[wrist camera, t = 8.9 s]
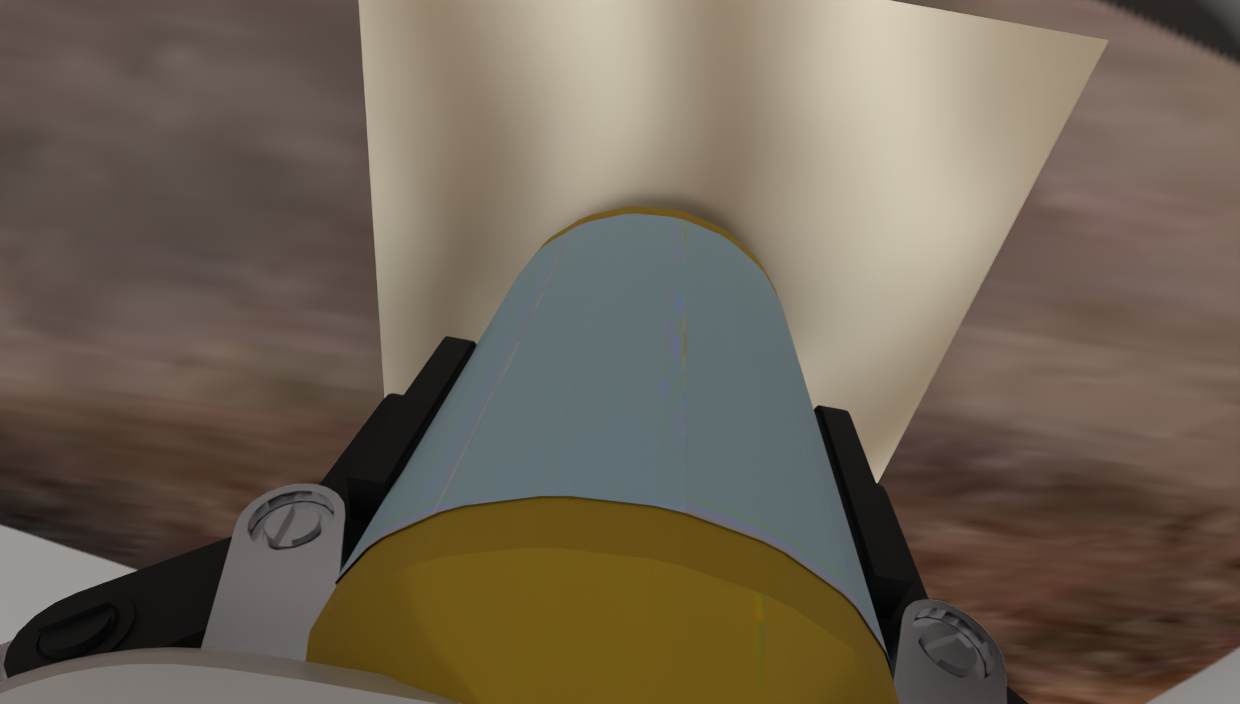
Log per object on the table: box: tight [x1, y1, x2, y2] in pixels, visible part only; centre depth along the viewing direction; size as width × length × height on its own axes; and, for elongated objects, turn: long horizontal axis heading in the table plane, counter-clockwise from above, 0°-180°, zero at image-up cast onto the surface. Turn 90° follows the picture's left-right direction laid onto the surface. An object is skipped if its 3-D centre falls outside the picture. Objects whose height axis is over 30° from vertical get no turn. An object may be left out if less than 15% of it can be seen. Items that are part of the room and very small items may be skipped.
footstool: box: [359, 0, 1109, 483], centre depth 20 cm, size 16×16×8 cm
